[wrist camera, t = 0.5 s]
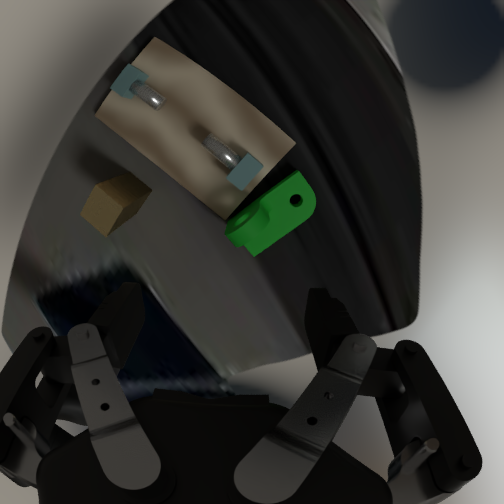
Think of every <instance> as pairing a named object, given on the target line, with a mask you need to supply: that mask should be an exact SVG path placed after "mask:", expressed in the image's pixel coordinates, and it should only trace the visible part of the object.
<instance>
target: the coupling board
mask: <svg viewBox="0 0 504 504" xmlns="http://www.w3.org/2000/svg"><path fill="white" fill-rule="evenodd" d="M110 89H112V90H111V92H110V93H109V95H108V96H107V97H106V99H105V100H104V102H103V103H102V105H101V106H100V108H99V109H98V111H97V113H96V114H95V116H96V117H97V118H98V119H100V120H101V121H102V122H103V123H105V124H106V125H107V126H108V127H110V128H111V129H112V130H113V131H115V132H116V133H117V134H119V135H120V136H121V137H122V138H124V139H125V140H126V141H127V142H129V143H130V144H131V145H132V146H134V147H135V148H136V149H137V150H139V151H140V152H141V153H142V154H144V155H145V156H146V157H147V158H149V159H150V160H151V161H152V162H154V163H155V164H156V165H157V166H159V167H160V168H161V169H162V170H164V171H165V172H166V173H167V174H168V175H170V176H171V177H172V178H173V179H175V180H176V181H177V182H178V183H180V184H181V185H182V186H183V187H185V188H186V189H187V190H188V191H190V192H191V193H192V194H193V195H195V196H196V197H197V198H198V199H199V200H201V201H202V202H203V203H204V204H206V205H207V206H208V207H209V208H211V209H212V210H213V211H214V212H215V213H217V214H218V215H219V216H220V217H222V218H223V219H224V220H226V219H227V218H228V217H229V216H230V214H231V213H232V212H233V211H234V210H235V209H236V208H237V207H238V205H239V204H240V203H241V202H242V201H243V200H244V199H245V198H246V196H247V195H248V194H249V193H250V192H251V191H252V190H253V189H254V188H255V187H256V185H257V184H258V183H259V182H260V181H261V180H262V179H263V178H264V177H265V176H266V175H267V173H268V172H269V171H270V170H271V169H272V168H273V167H274V166H275V165H276V164H277V163H278V162H279V161H280V159H281V158H282V157H283V156H284V155H285V154H286V153H287V152H288V151H289V150H290V149H291V148H292V147H293V146H294V145H295V144H296V143H295V142H294V141H293V140H292V139H291V138H290V137H289V136H288V135H286V134H285V133H284V132H283V131H282V130H281V129H280V128H279V127H277V126H276V125H275V124H274V123H273V122H272V121H270V120H269V119H268V118H267V117H266V116H265V115H263V114H262V113H261V112H260V111H259V110H257V109H256V108H255V107H254V106H253V105H251V104H250V103H249V102H248V101H246V100H245V99H244V98H243V97H241V96H240V95H239V94H237V93H236V92H235V91H234V90H232V89H231V88H230V87H228V86H227V85H226V84H224V83H223V82H222V81H220V80H219V79H218V78H216V77H215V76H213V75H212V74H211V73H209V72H208V71H207V70H205V69H204V68H202V67H201V66H199V65H198V64H196V63H195V62H194V61H192V60H191V59H189V58H188V57H186V56H185V55H183V54H182V53H180V52H178V51H177V50H175V49H174V48H172V47H171V46H169V45H167V44H166V43H164V42H162V41H161V40H159V39H157V38H156V37H154V38H153V39H152V40H151V42H150V43H149V44H148V45H147V46H146V47H145V48H144V49H143V51H142V52H141V53H140V54H139V55H138V57H137V58H136V59H135V60H134V61H133V63H132V64H129V63H128V65H127V66H126V67H125V68H124V70H123V71H122V72H121V73H120V75H119V76H118V77H117V79H116V80H115V82H114V83H113V84H112V86H111V87H110Z"/></svg>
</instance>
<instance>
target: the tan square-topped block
mask: <svg viewBox="0 0 504 504" xmlns="http://www.w3.org/2000/svg"><path fill="white" fill-rule="evenodd" d="M151 192H152V189H150V188H149V187H148V186H147V185H146V184H144V183H143V182H142V181H141V180H139V179H138V178H137V177H136V176H134V175H133V174H132V173H131V172H128V173H126V174H123V175H120V176H117V177H114V178H112V179H109V180H106V181H104V182H101V183H98V184H96V185H95V187H94V189H93V190H92V192H91V194H90V196H89V198H88V200H87V202H86V204H85V206H84V208H83V210H82V212H81V214H80V215H81V216H82V217H83V218H84V219H86V220H87V221H88V222H89V223H90V224H91V225H92V226H94V227H95V228H96V229H97V230H98V231H99V232H101V233H102V234H103V235H104V236H105V237H107V236H108V235H110V234H111V233H112V232H113V231H115V230H116V229H117V228H118V227H120V226H121V225H122V224H124V223H125V222H126V221H128V220H129V219H130V218H131V217H133V216H134V215H135V214H137V212H138V211H139V209H140V208H141V206H142V205H143V203H144V202H145V200H146V199H147V198H148V196H149V195H150V193H151Z"/></svg>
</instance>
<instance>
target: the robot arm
mask: <svg viewBox="0 0 504 504" xmlns="http://www.w3.org/2000/svg"><path fill="white" fill-rule="evenodd" d="M144 320H145V309H144V304H143V298H142V292H141V287H140V284H139V283H128V282H124V283H123V284H122V285H121V287H120V288H119V289H118V291H117V292H113V293H111V294H110V295H108V296H107V297H106V298H105V299H104V300H103V302H102V304H100V306H99V307H98V309H97V310H96V311H95V312H94V314H93V315H92V316H91V318H90V319H89V321H88V322H87V323H84V324H79V325H77V326H75V327H73V328H72V329H71V330H70V331H69V333H68V336H55V337H54V336H53V333H52V331H51V329H50V328H48V327H38V328H35V329H33V330H32V331H30V332H29V333H28V334H27V336H26V337H25V338H24V340H23V341H22V342H21V344H20V345H19V347H18V348H17V349H16V351H15V352H14V353H13V355H12V356H11V358H10V359H9V361H8V362H7V364H6V365H5V366H4V368H3V370H2V371H1V372H0V472H2V473H3V474H4V475H5V476H7V477H8V478H9V479H11V480H12V481H13V482H15V483H16V484H17V485H19V486H22V487H29V486H32V487H34V488H36V489H37V490H38V496H39V504H437V503H439V502H441V501H443V500H445V499H446V498H448V497H449V496H451V495H452V494H454V493H455V492H456V491H458V490H460V489H461V488H462V486H464V485H465V484H467V483H468V482H469V481H471V480H472V479H473V478H475V477H476V476H477V475H478V474H479V472H480V470H481V468H482V457H481V454H480V452H479V449H478V447H477V445H476V443H475V441H474V438H473V436H472V434H471V432H470V430H469V428H468V426H467V424H466V422H465V420H464V418H463V416H462V415H461V412H460V410H459V409H458V407H457V405H456V403H455V401H454V399H453V397H452V396H451V394H450V392H449V390H448V389H447V387H446V385H445V383H444V381H443V380H442V378H441V376H440V375H439V373H438V372H437V370H436V368H435V366H434V365H433V363H432V361H431V360H430V358H429V356H428V355H427V353H426V352H425V350H424V348H423V347H422V346H421V345H420V344H418V343H416V342H414V341H411V340H401V341H399V342H398V343H397V344H396V346H395V348H394V349H386V348H379V347H377V345H376V343H375V342H374V340H373V339H371V338H370V337H368V336H366V335H363V334H360V333H359V331H358V330H357V328H356V326H355V324H354V322H353V320H352V319H351V317H350V315H349V313H348V312H347V309H346V308H345V306H344V304H343V303H342V302H340V301H339V300H338V299H337V298H331V297H330V295H329V293H328V291H327V289H326V288H310V289H309V293H308V299H307V305H306V311H305V318H304V324H305V330H306V333H307V336H308V339H309V343H310V346H311V350H312V353H313V356H314V360H315V363H316V366H317V370H318V373H317V374H316V376H315V377H314V378H313V380H312V381H311V383H310V384H309V385H308V387H307V388H306V389H305V391H304V392H303V393H302V394H301V396H300V397H299V398H298V400H297V401H296V402H295V404H294V405H293V406H292V408H291V409H288V408H286V407H283V406H281V405H277V404H274V403H269V395H236V396H230V397H223V398H217V399H206V398H202V397H199V396H195V395H192V394H189V393H185V392H182V391H173V390H165V389H157V388H155V389H154V393H153V396H149V397H143V398H139V399H136V400H133V401H131V402H129V403H128V401H127V399H126V397H125V395H124V393H123V391H122V388H121V386H120V384H119V382H118V380H117V374H118V372H119V370H120V369H123V367H124V364H125V362H126V360H127V358H128V355H129V353H130V351H131V349H132V347H133V345H134V342H135V340H136V338H137V336H138V334H139V332H140V330H141V328H142V325H143V323H144ZM40 371H41V372H42V374H43V378H42V380H41V381H40V383H39V385H38V387H37V389H36V387H35V381H36V377H37V376H38V374H39V372H40ZM357 395H363V396H372V397H375V399H376V402H377V405H378V408H379V411H380V414H381V417H382V419H383V422H384V426H385V429H386V432H387V435H388V438H389V441H390V445H391V447H392V451H393V454H394V459H393V460H392V461H391V463H390V464H389V467H388V481H387V482H386V481H385V480H384V479H383V478H382V477H381V476H380V475H378V474H377V473H375V472H374V471H372V470H371V469H369V468H368V467H367V466H365V465H364V464H362V463H361V462H359V461H358V460H357V459H355V458H354V457H352V456H351V455H350V454H348V453H347V452H346V451H344V450H343V449H341V448H340V447H339V446H337V445H336V444H335V443H333V442H332V440H333V439H334V437H335V435H336V433H337V431H338V430H339V428H340V426H341V424H342V423H343V421H344V419H345V417H346V415H347V413H348V412H349V410H350V408H351V406H352V404H353V402H354V400H355V398H356V396H357ZM57 419H60V420H66V421H70V422H73V423H76V424H80V425H84V426H88V429H86V430H85V431H83V432H82V433H80V434H78V435H77V436H75V437H74V436H72V435H71V434H69V433H68V432H66V431H65V430H63V429H62V428H61V427H59V426H58V425H56V424H55V422H56V420H57Z"/></svg>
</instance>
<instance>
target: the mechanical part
mask: <svg viewBox="0 0 504 504" xmlns="http://www.w3.org/2000/svg"><path fill="white" fill-rule="evenodd" d="M294 194H299V195H300V196H301V199H300V201H299V202H298V203H297V204H292V203H290V198H291V196H292V195H294ZM315 205H316V198H315V194H314V192H313V190H312V189H311V187H310V186H309V184H308V183H307V182H306V180H305V179H304V177H303V176H302V175H301V173H300V172H299V171H298V170H296V171H294V172H293V173H292V174H290V175H289V176H287V177H286V178H285V179H283V180H282V181H281V182H279V183H278V184H276V185H275V186H274V187H272V188H271V189H270V190H268V191H267V192H266V193H264V194H263V195H262V196H260V197H259V198H258V199H256V200H255V201H254V202H252V203H251V204H250V205H248V206H247V207H246V208H244V209H243V210H242V211H240V212H239V213H238V214H236V215H235V216H234V217H232V218H231V219H230V220H229V221H228V223H227V226H226V230H225V235H226V236H227V237H228V239H229V240H230V241H231V242H232V243H233V244H234V246H235V247H240V246H243V245H244V246H245V247H246V248H247V249H248V250H249V252H250V253H251V254H252V255H253V256H256V255H257V254H259V253H260V252H262V251H263V250H264V249H266V248H267V247H269V246H270V245H271V244H273V243H274V242H276V241H277V240H278V239H280V238H281V237H283V236H284V235H286V234H287V233H288V232H290V231H291V230H293V229H294V228H295V227H297V226H298V225H300V224H301V223H302V222H304V221H305V220H307V219H308V218H309V217H310V216H311V215H312V213H313V211H314V209H315Z"/></svg>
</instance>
